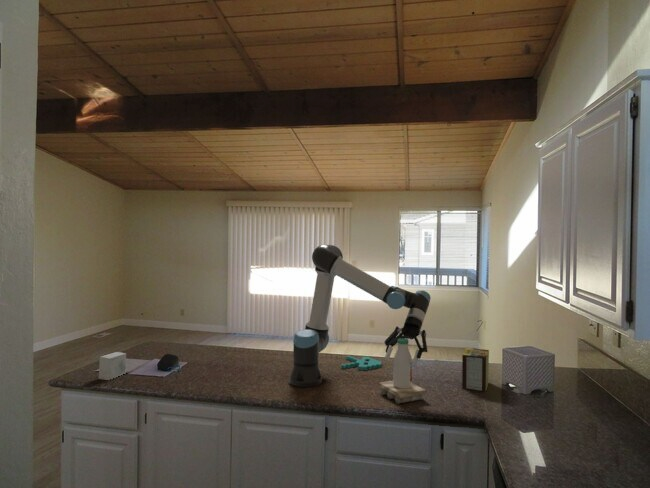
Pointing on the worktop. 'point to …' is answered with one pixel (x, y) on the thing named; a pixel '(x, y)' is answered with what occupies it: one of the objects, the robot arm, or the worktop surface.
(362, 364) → the alien figure
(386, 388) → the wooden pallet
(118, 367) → the skincare box
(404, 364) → the milk bottle
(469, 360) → the protein box
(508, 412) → the worktop surface
